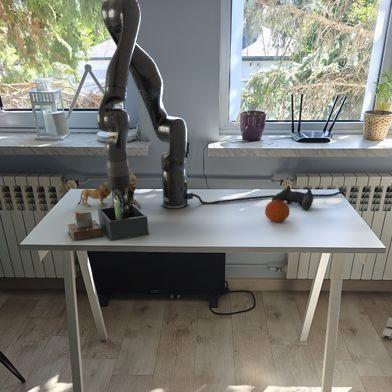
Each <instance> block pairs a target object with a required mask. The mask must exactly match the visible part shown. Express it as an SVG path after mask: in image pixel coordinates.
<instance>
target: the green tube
mask: <svg viewBox="0 0 392 392" xmlns="http://www.w3.org/2000/svg"><path fill="white" fill-rule="evenodd" d="M121 204H122V203H121ZM114 205H115V215H116V220H121V219H122V212H121V208H120V207H119V205H118V201H117V199H116V198H114ZM125 209H126V207H125Z"/></svg>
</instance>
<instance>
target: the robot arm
mask: <svg viewBox="0 0 392 392" xmlns="http://www.w3.org/2000/svg"><path fill="white" fill-rule="evenodd" d="M100 13H101V18H102V22H103V25H104V26H105V29H106V31H107V32H108V34H109V36H110V37H111V39H112V41H113V43H114V44H115V46H116V48H115V50H114V53H113V55H112V57H111V59H110V61H109V63H108V64H107V68H106V72H105V81H104V92H103V95H102V98H101V101H100V104H99V107H98V110H97V113H96V125H97V127H98V129H99V130H100V131H101V132H104V133H108V132H115V133H117V137H116V139H112V140H108V139H107V141H105V143H104V148H105V158H106V163H105V164H106V176H107V183H108V186H109V188H111V189H112V192H111V195H112V196H111V197H112V203H114V198H116V199H117V201H118V205H119V207H120V208H121V212H122V219H128V218H129V212H131V210H130V199H129V195H127V193H126V191H125V189H126V188H129V187H130V175H129V168H130V166H129V165H130V164H129V160H128V159H129V158H128V150H127V143H128V137H129V136H128V135H129V130H130V125H131V118H130V116H129V113H128V111H127V110H125V109H123V108H114V107H115V106H117V105H118V104H121V103H124V102H125V101H126V100H127V94H128V86H129V85H128V83H129V75H130V76H131V78H132V81H133V83H134V86H135V88H136V89H137V91H138V94H139V95H140V97H141V100H142V102H143V104H144V106H145V109H146V111H147V114H148V116H149V119H150V122H151V125H152V128H153V130H154V134H155V135H156V138H157V139H158V140H159V141H161V142H163V143H166V144H167V143H168V144H169V145H168V151H165V152H162V153H161V155H160V165H161V186H162V188H161V189H162V206H163V207H164V208H167V209H180V208H184V207H186V206H188V201H189V200H193V199H194V198H197V199H198V200H199V202H200V204H203V205H216V204H220V203H231V202H238V201H247V200H256V199H257V200H258V199H269V198H271V199H272V198H273V196H275V195H276V194H271V195H258V196H247V197H238V198H237V197H236V198H229V199H221V200H215V201H208V202H207V201H203V200H202V198H201V196H199V195H198V194H196V193H194V192H193V191H191V190H189V189H188V182H187V180H186V161H185V159H186V154H187V145H188V144H187V142H188V141H187V139H188V129H187V124H186V121H185V120H184V119H183V118H181V117H176V116H169V115H168V113H167V112H166V109H165V108H164V104H163V101H162V99H163V91H164V83H163V79H162V76H161V73H160V71H159V69H158V66H157V64H156V63H155V61H154V59H153V58H152V57H151V56H150V55H149V54H148V53H147V52H146V51H145V50H144V49H143V48H141V47H140V46H139V44H137V42H136V41H137V37H138V33H139V30H140V25H141V8H140V5H139V3H138V0H103V2H102V3H101V6H100ZM312 194H313V197H320V198H321V197H335V196H338V195H342V196H346V195H347V194H346V193H345V192H344V191H337V192H334V193H327V194H325V193H321V194H320V193H312ZM121 203H122V204H121ZM125 207H126V209H125Z"/></svg>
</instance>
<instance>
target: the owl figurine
mask: <svg viewBox="0 0 392 392" xmlns="http://www.w3.org/2000/svg"><path fill="white" fill-rule="evenodd" d="M129 175H130V187H129V188H126V189H125V191H126V193H127V195H129V199H130V204H134V205H135V206H136V207H137V208H139V209H140V208H141V206H140V202H138V200H136V199H135V192H136V190H137V177H136V175H135V174H134V173H133V170H132V169H131V168H130V167H129ZM114 206H115V205H114V203H113V202H112V204H111V205H110V206H109V207H114Z"/></svg>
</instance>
